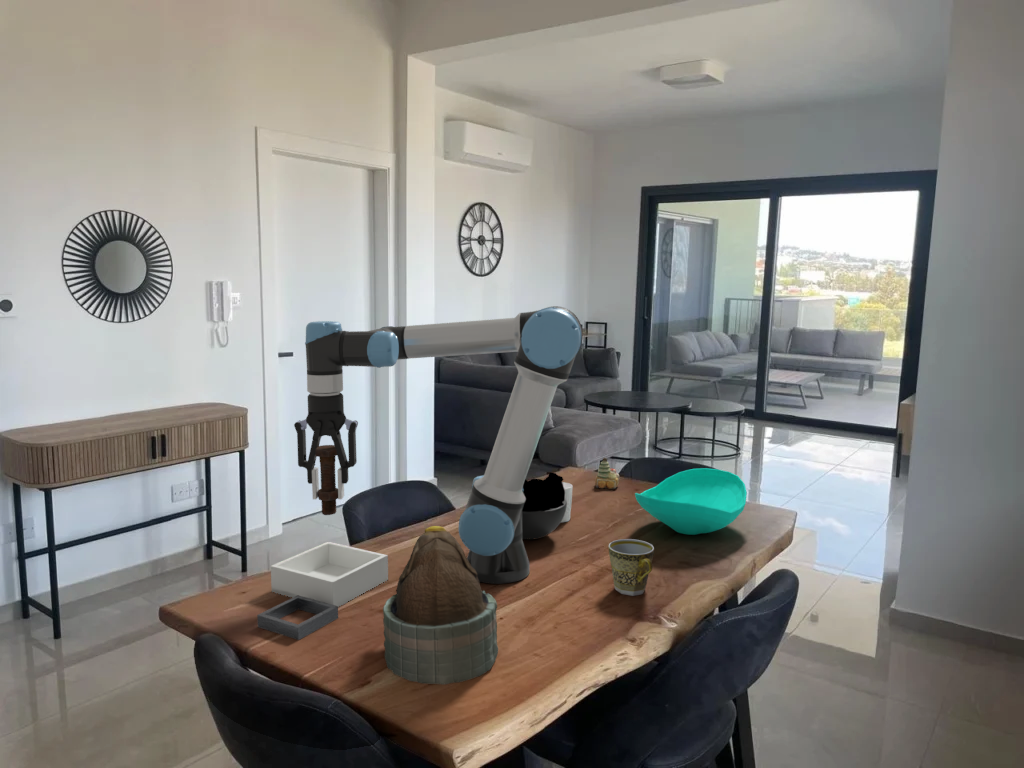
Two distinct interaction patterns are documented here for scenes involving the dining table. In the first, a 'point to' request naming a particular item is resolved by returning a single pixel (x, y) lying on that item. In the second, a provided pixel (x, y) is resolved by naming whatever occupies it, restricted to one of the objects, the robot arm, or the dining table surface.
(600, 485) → the ornament
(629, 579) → the ceramic cup
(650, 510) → the table top decor
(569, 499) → the white cup
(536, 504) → the bowl of black rocks
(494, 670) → the dining table surface
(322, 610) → the socket collar
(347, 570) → the bin
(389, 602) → the decorative pot
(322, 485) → the bolt
